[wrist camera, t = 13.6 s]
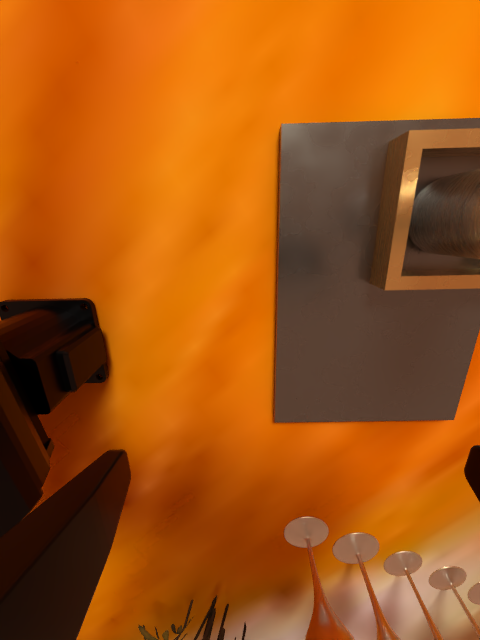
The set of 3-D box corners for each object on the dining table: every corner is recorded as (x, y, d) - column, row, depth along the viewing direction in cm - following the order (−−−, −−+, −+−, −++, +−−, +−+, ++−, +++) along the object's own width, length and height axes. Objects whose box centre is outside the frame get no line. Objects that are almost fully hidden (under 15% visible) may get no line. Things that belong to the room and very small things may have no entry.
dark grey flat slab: (273, 415, 22) (277, 441, 20) (279, 128, 16) (287, 109, 13) (446, 413, 22) (474, 438, 20) (525, 121, 16) (583, 100, 13)
